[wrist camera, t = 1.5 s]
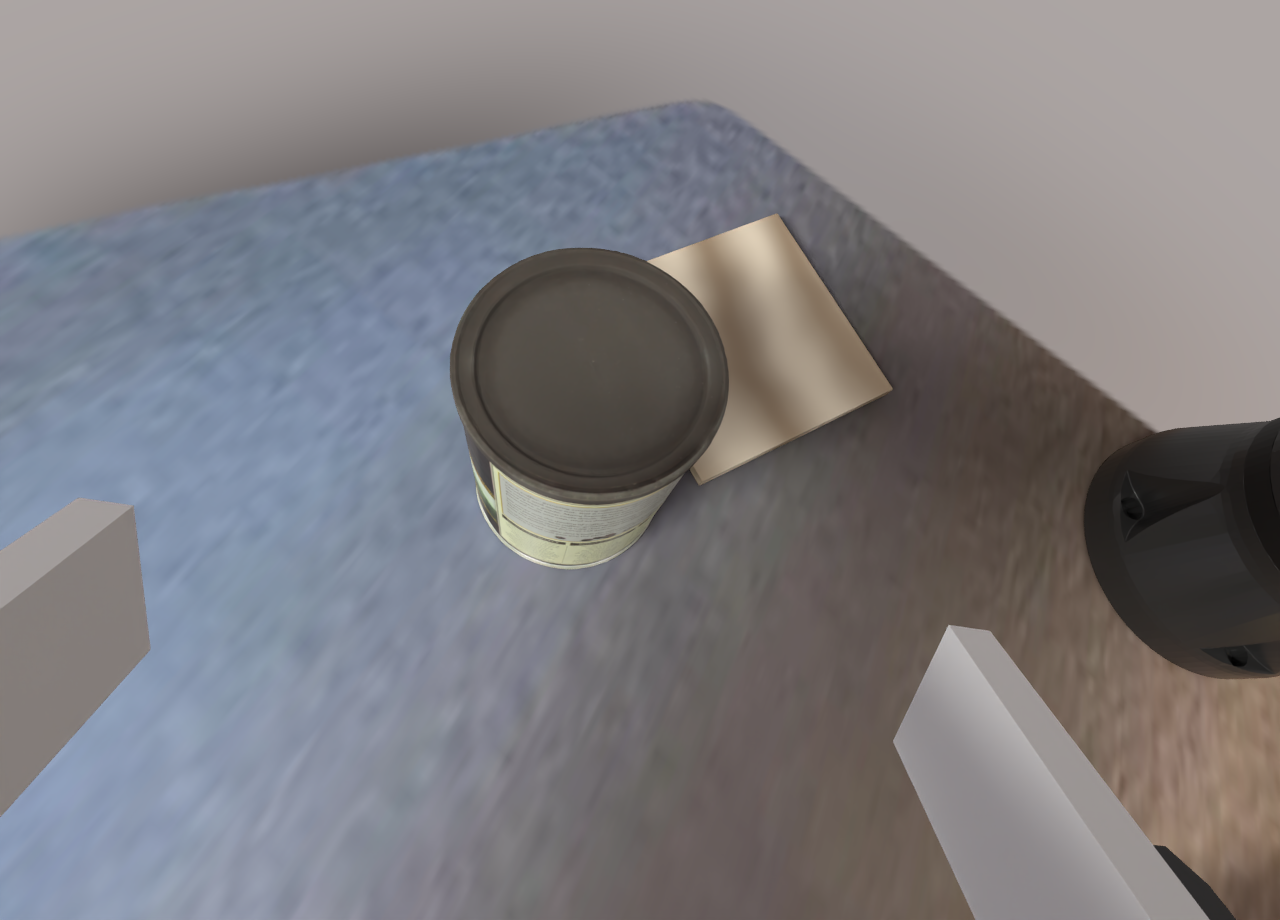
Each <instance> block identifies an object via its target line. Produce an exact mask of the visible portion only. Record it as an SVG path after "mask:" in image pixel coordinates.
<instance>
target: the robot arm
mask: <svg viewBox="0 0 1280 920" xmlns="http://www.w3.org/2000/svg"><path fill="white" fill-rule="evenodd" d="M1084 527H1085V537H1086V543H1087V548H1088V553H1089V556H1090V560H1091V563H1092V566H1093V569H1094V572H1095V574H1096V576H1097V579H1098V581H1099V583H1100V585H1101V587H1102V589H1103V591H1104V593H1105V595H1106V596H1107V598H1108V600H1109V601H1110V603H1111V605H1112V606H1113V608H1114V609H1115V610H1116V612H1117V613H1118V615H1119V616H1120V617H1121V619H1122V620H1123V621H1124V622H1125V623H1126V625H1127V626H1128V627H1129V628H1130V629H1131V630H1132V631H1133V632H1134V633H1135V634H1136V635H1137V636H1138V637H1139V638H1140V639H1141V640H1142V641H1143V642H1144V643H1145V644H1147V645H1148V646H1149V647H1150V648H1151V649H1153V650H1154V651H1155V652H1157V653H1158V654H1159V655H1161V656H1162V657H1164V658H1165V659H1167V660H1169V661H1170V662H1172V663H1174V664H1176V665H1178V666H1180V667H1182V668H1184V669H1186V670H1189V671H1191V672H1194V673H1197V674H1200V675H1204V676H1207V677H1213V678H1219V679H1249V678H1269V677H1276V676H1280V418H1277V419H1275V420H1272V421H1266V422H1254V423H1241V424H1227V425H1214V426H1202V427H1189V428H1177V429H1172V430H1167V431H1163V432H1159V433H1156V434H1153V435H1151V436H1149V437H1146V438H1144V439H1141V440H1139V441H1137V442H1134V443H1132V444H1130V445H1127V446H1125V447H1123V448H1121V449H1119V450H1118V451H1116V452H1115V453H1114V454H1112V455H1111V456H1110V457H1109V458H1108V459H1107V460H1106V461H1105V462H1104V463H1103V464H1102V466H1101V467H1100V468H1099V470H1098V471H1097V473H1096V474H1095V476H1094V478H1093V480H1092V483H1091V485H1090V488H1089V491H1088V494H1087V499H1086V505H1085V515H1084ZM149 651H150V641H149V632H148V624H147V615H146V607H145V598H144V590H143V582H142V573H141V565H140V556H139V548H138V539H137V531H136V523H135V514H134V506H132V505H125V504H118V503H111V502H105V501H98V500H91V499H84V498H77V499H76V500H74V501H73V502H71V503H70V504H68V505H67V506H66V507H64V508H63V509H61V510H60V511H58V512H57V513H55V514H54V515H52V516H51V517H49V518H48V519H46V520H45V521H44V522H42V523H41V524H39V525H38V526H36V527H35V528H33V529H32V530H30V531H29V532H27V533H26V534H24V535H23V536H22V537H20V538H19V539H17V540H16V541H14V542H13V543H11V544H10V545H8V546H7V547H5V548H4V549H2V550H1V551H0V817H1V816H2V815H3V814H4V813H5V811H6V810H7V809H8V808H9V807H10V806H11V805H12V804H13V802H14V801H15V800H16V799H17V798H18V797H19V796H20V795H21V794H22V792H23V791H24V790H25V789H26V788H27V787H28V786H29V785H30V783H31V782H32V781H33V780H34V779H35V778H36V777H37V776H38V775H39V773H40V772H41V771H42V770H43V769H44V768H45V767H46V766H47V764H48V763H49V762H50V761H51V760H52V759H53V758H54V757H55V756H56V754H57V753H58V752H59V751H60V750H61V749H62V748H63V747H64V746H65V744H66V743H67V742H68V741H69V740H70V739H71V738H72V737H73V735H74V734H75V733H76V732H77V731H78V730H79V729H80V728H81V727H82V725H83V724H84V723H85V722H86V721H87V720H88V719H89V718H90V716H91V715H92V714H93V713H94V712H95V711H96V710H97V709H98V708H99V706H100V705H101V704H102V703H103V702H104V701H105V700H106V699H107V697H108V696H109V695H110V694H111V693H112V692H113V691H114V690H115V689H116V687H117V686H118V685H119V684H120V683H121V682H122V681H123V680H124V678H125V677H126V676H127V675H128V674H129V673H130V672H131V671H132V670H133V668H134V667H135V666H136V665H137V664H138V663H139V662H140V661H141V659H142V658H143V657H144V656H145V655H146V654H147V653H148V652H149ZM893 742H894V745H895V747H896V749H897V751H898V753H899V755H900V758H901V760H902V762H903V764H904V766H905V768H906V771H907V773H908V775H909V777H910V779H911V781H912V784H913V786H914V788H915V790H916V792H917V794H918V796H919V799H920V801H921V803H922V805H923V807H924V809H925V812H926V814H927V816H928V818H929V820H930V822H931V825H932V827H933V829H934V831H935V833H936V835H937V838H938V840H939V842H940V844H941V846H942V848H943V850H944V853H945V855H946V857H947V859H948V861H949V863H950V866H951V868H952V870H953V872H954V874H955V876H956V879H957V881H958V883H959V885H960V887H961V889H962V892H963V894H964V896H965V898H966V900H967V902H968V904H969V907H970V909H971V911H972V913H973V915H974V917H975V920H1236V919H1235V918H1234V916H1233V915H1232V914H1231V913H1230V911H1229V910H1228V909H1227V908H1226V906H1225V905H1224V904H1223V903H1222V901H1221V900H1220V899H1219V898H1218V896H1217V895H1216V894H1215V893H1214V891H1213V890H1212V889H1211V888H1210V886H1209V885H1208V884H1207V883H1206V882H1204V881H1203V880H1202V879H1201V878H1200V877H1199V876H1198V875H1197V874H1196V873H1194V872H1193V871H1192V870H1191V869H1190V868H1189V867H1188V866H1187V865H1186V864H1184V863H1183V862H1182V861H1181V860H1180V859H1179V858H1178V857H1177V856H1176V855H1174V854H1173V853H1172V852H1171V851H1170V850H1169V849H1168V848H1167V847H1166V846H1157V845H1152V843H1151V842H1150V841H1149V839H1148V838H1147V837H1146V835H1145V834H1144V833H1143V831H1142V830H1141V829H1140V827H1139V826H1138V825H1137V824H1136V822H1135V821H1134V820H1133V818H1132V817H1131V816H1130V814H1129V813H1128V812H1127V810H1126V809H1125V808H1124V806H1123V805H1122V804H1121V803H1120V801H1119V800H1118V799H1117V797H1116V796H1115V795H1114V793H1113V792H1112V791H1111V789H1110V788H1109V787H1108V785H1107V784H1106V783H1105V782H1104V780H1103V779H1102V778H1101V776H1100V775H1099V774H1098V772H1097V771H1096V770H1095V768H1094V767H1093V766H1092V764H1091V763H1090V762H1089V760H1088V759H1087V758H1086V757H1085V755H1084V754H1083V753H1082V751H1081V750H1080V749H1079V747H1078V746H1077V745H1076V743H1075V742H1074V741H1073V739H1072V738H1071V737H1070V736H1069V734H1068V733H1067V732H1066V730H1065V729H1064V728H1063V726H1062V725H1061V724H1060V722H1059V721H1058V720H1057V718H1056V717H1055V716H1054V714H1053V713H1052V712H1051V711H1050V709H1049V708H1048V707H1047V705H1046V704H1045V703H1044V701H1043V700H1042V699H1041V697H1040V696H1039V695H1038V693H1037V692H1036V691H1035V690H1034V688H1033V687H1032V686H1031V684H1030V683H1029V682H1028V680H1027V679H1026V678H1025V676H1024V675H1023V674H1022V672H1021V671H1020V670H1019V669H1018V667H1017V666H1016V665H1015V663H1014V662H1013V661H1012V659H1011V658H1010V657H1009V655H1008V654H1007V653H1006V651H1005V650H1004V649H1003V647H1002V646H1001V645H1000V644H999V642H998V641H997V640H996V638H995V637H994V636H993V634H992V633H991V632H990V631H987V630H980V629H973V628H966V627H960V626H953V625H948V628H947V630H946V632H945V634H944V636H943V638H942V640H941V642H940V644H939V646H938V648H937V650H936V653H935V655H934V657H933V659H932V661H931V663H930V665H929V667H928V669H927V671H926V673H925V676H924V678H923V680H922V682H921V684H920V686H919V688H918V690H917V692H916V694H915V696H914V699H913V701H912V703H911V705H910V707H909V709H908V711H907V713H906V715H905V717H904V719H903V721H902V724H901V726H900V728H899V730H898V732H897V734H896V736H895V738H894V740H893Z"/></svg>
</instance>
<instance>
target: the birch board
mask: <svg viewBox="0 0 1280 920" xmlns="http://www.w3.org/2000/svg"><path fill="white" fill-rule="evenodd" d="M647 262H649V263H651V264H652V265H654V266H656V267H658V268H660V269H661V270H663V271H664V272H666V273H668V274H669V275H671V276H672V277H673V278H675V279H676V280H677V281H679V282H680V283H681V284H682V285H683V286H685V287H686V288H687V289H688V290H689V291H690V292H691V293H692V294H693V295H694V296H695V297H696V298H697V299H698V300H699V302H700V303H701V304H702V305H703V307H704V308H705V310H706V311H707V312H708V314H709V316H710V317H711V319H712V320H713V322H714V324H715V326H716V328H717V330H718V332H719V335H720V337H721V340H722V343H723V346H724V350H725V354H726V358H727V363H728V371H729V392H728V401H727V406H726V410H725V414H724V417H723V420H722V423H721V425H720V427H719V429H718V431H717V433H716V435H715V437H714V439H713V441H712V442H711V444H710V446H709V447H708V449H707V450H706V451H705V452H704V454H703V455H702V456H701V457H700V458H699V459H698V461H697V462H696V463H695V464H694V465H693V466H692V467H691V468H690V471H691V473H692V474H693V476H694V478H695V480H696V481H697V483H698V485H699V486H700V485H702V484H704V483H706V482H708V481H710V480H712V479H714V478H716V477H719V476H721V475H723V474H725V473H727V472H729V471H731V470H733V469H735V468H737V467H739V466H741V465H743V464H745V463H747V462H749V461H751V460H753V459H755V458H757V457H760V456H762V455H764V454H766V453H768V452H770V451H772V450H774V449H776V448H778V447H780V446H782V445H784V444H786V443H788V442H790V441H792V440H794V439H796V438H798V437H800V436H803V435H805V434H807V433H809V432H811V431H813V430H815V429H817V428H819V427H821V426H823V425H825V424H827V423H829V422H831V421H833V420H835V419H837V418H839V417H841V416H844V415H846V414H848V413H850V412H852V411H854V410H856V409H858V408H860V407H862V406H864V405H866V404H868V403H870V402H872V401H874V400H876V399H878V398H880V397H882V396H884V395H887V394H888V393H889V392H890V391H891V390H893V388H892V387H891V385H890V384H889V382H888V381H887V379H886V378H885V376H884V375H883V373H882V372H881V370H880V369H879V367H878V366H877V364H876V362H875V361H874V359H873V358H872V356H871V355H870V353H869V352H868V350H867V349H866V347H865V346H864V344H863V343H862V341H861V340H860V338H859V337H858V335H857V334H856V332H855V331H854V329H853V328H852V326H851V325H850V323H849V322H848V320H847V318H846V317H845V315H844V314H843V312H842V311H841V309H840V308H839V306H838V305H837V303H836V302H835V300H834V299H833V297H832V296H831V294H830V293H829V291H828V290H827V288H826V287H825V285H824V284H823V282H822V281H821V279H820V278H819V276H818V275H817V273H816V271H815V270H814V268H813V267H812V265H811V264H810V262H809V261H808V259H807V258H806V256H805V255H804V253H803V252H802V250H801V249H800V247H799V246H798V244H797V243H796V241H795V240H794V238H793V237H792V235H791V234H790V232H789V231H788V229H787V227H786V226H785V224H784V223H783V221H782V220H781V218H780V217H779V215H778V214H774V215H771V216H769V217H766V218H763V219H761V220H758V221H755V222H752V223H750V224H747V225H744V226H741V227H739V228H736V229H733V230H731V231H728V232H725V233H722V234H720V235H717V236H714V237H712V238H709V239H706V240H703V241H701V242H698V243H695V244H692V245H690V246H687V247H684V248H682V249H679V250H676V251H673V252H671V253H668V254H665V255H663V256H660V257H657V258H654V259H652V260H649V261H647Z"/></svg>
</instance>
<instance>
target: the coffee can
mask: <svg viewBox="0 0 1280 920" xmlns="http://www.w3.org/2000/svg"><path fill="white" fill-rule="evenodd" d="M450 380H451V387H452V392H453V396H454V400H455V404H456V408H457V411H458V414H459V416H460V419H461V421H462V423H463V426H464V430H465V435H466V440H467V444H468V449H469V453H470V458H471V463H472V467H473V472H474V477H475V482H476V492H477V497H478V501H479V504H480V508H481V510H482V513H483V515H484V517H485V519H486V521H487V523H488V524H489V526H490V528H491V529H492V530H493V532H494V533H495V534H496V536H497V537H498V538H499V539H500V540H501V541H502V542H503V543H504V544H505V545H506V546H507V547H508V548H510V549H511V550H512V551H514V552H515V553H517V554H518V555H520V556H522V557H523V558H525V559H527V560H530V561H532V562H534V563H537V564H540V565H544V566H547V567H552V568H559V569H579V568H586V567H591V566H595V565H598V564H601V563H604V562H607V561H609V560H611V559H613V558H615V557H616V556H618V555H620V554H621V553H623V552H624V551H625V550H627V549H628V548H629V547H630V546H632V545H633V544H634V543H635V542H636V541H637V540H638V539H639V538H640V537H641V535H642V534H643V532H644V531H645V530H646V529H647V527H648V525H649V524H650V522H651V520H652V518H653V516H654V515H655V513H656V512H657V510H658V509H659V508H660V506H661V505H662V504H663V502H664V501H665V500H666V498H667V497H668V495H669V494H670V493H671V491H672V490H673V488H674V487H675V486H676V484H677V483H678V481H679V480H680V479H681V478H682V476H683V475H684V473H686V472H687V471H688V470H689V469H690V468H691V467H692V466H693V465H694V464H695V463H696V462H697V461H698V459H699V458H700V457H701V456H702V455H703V454H704V452H705V451H706V450H707V449H708V447H709V446H710V444H711V442H712V441H713V439H714V437H715V435H716V433H717V431H718V429H719V427H720V425H721V423H722V420H723V417H724V414H725V410H726V406H727V401H728V392H729V371H728V363H727V358H726V354H725V350H724V346H723V343H722V340H721V337H720V335H719V332H718V330H717V328H716V326H715V324H714V322H713V320H712V319H711V317H710V316H709V314H708V312H707V311H706V310H705V308H704V307H703V305H702V304H701V303H700V302H699V300H698V299H697V298H696V297H695V296H694V295H693V294H692V293H691V292H690V291H689V290H688V289H687V288H686V287H685V286H683V285H682V284H681V283H680V282H679V281H677V280H676V279H675V278H673V277H672V276H671V275H669V274H668V273H666V272H664V271H663V270H661V269H660V268H658V267H656V266H654V265H652V264H651V263H649V262H647V261H645V260H642V259H639V258H637V257H634V256H632V255H629V254H625V253H620V252H618V251H610V250H605V249H597V248H566V249H558V250H552V251H547V252H544V253H540V254H537V255H534V256H531V257H529V258H526V259H524V260H521V261H519V262H518V263H516V264H514V265H512V266H510V267H509V268H507V269H506V270H504V271H503V272H501V273H500V274H498V275H497V276H496V277H494V278H493V279H492V280H491V281H490V282H489V283H488V284H486V285H485V286H484V287H483V288H482V289H481V290H480V291H479V292H478V293H477V295H476V296H475V297H474V298H473V300H472V301H471V303H470V304H469V306H468V307H467V309H466V310H465V312H464V314H463V316H462V318H461V320H460V322H459V324H458V327H457V330H456V333H455V336H454V340H453V344H452V349H451V354H450Z"/></svg>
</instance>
